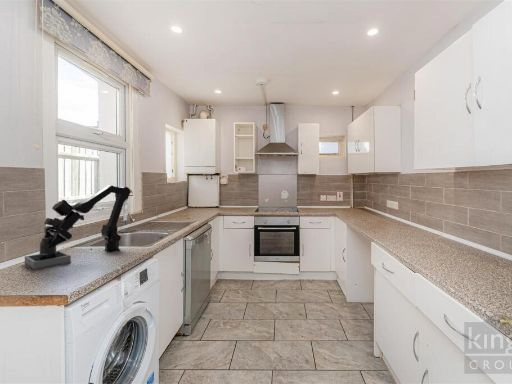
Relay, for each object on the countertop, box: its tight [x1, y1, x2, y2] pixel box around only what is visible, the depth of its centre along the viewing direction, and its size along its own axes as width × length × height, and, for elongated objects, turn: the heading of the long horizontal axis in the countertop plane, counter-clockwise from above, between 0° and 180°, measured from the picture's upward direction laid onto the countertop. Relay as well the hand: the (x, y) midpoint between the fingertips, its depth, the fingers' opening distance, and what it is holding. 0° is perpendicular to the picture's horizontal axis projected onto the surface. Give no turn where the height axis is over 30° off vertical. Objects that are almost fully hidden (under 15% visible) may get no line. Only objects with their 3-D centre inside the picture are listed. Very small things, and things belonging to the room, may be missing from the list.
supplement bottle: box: [39, 236, 57, 260], centre depth 139 cm, size 7×7×12 cm
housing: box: [24, 250, 72, 271], centre depth 139 cm, size 15×15×4 cm
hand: (44, 246), depth 137 cm, fingers open, 9 cm apart
